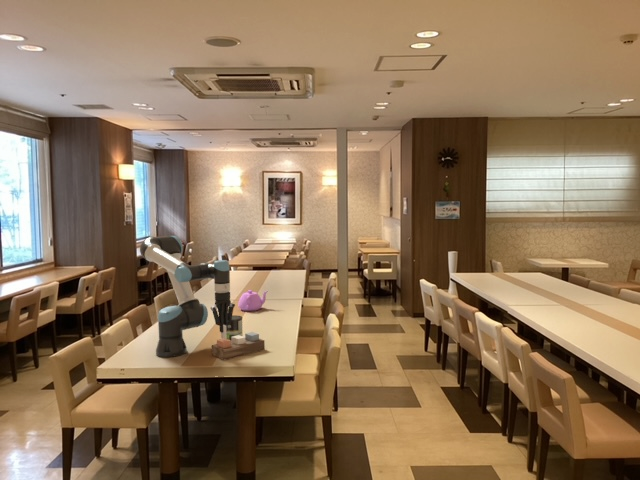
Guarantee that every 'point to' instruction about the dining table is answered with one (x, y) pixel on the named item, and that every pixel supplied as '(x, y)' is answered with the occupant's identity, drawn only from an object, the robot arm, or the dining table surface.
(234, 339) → the ivory key
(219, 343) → the terracotta key
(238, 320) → the coffee can
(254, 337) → the slate key
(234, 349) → the key console
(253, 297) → the teapot
